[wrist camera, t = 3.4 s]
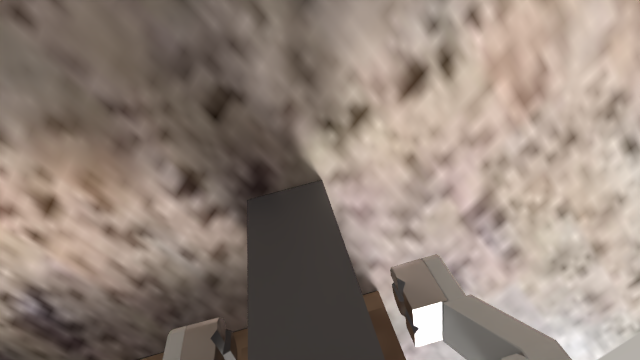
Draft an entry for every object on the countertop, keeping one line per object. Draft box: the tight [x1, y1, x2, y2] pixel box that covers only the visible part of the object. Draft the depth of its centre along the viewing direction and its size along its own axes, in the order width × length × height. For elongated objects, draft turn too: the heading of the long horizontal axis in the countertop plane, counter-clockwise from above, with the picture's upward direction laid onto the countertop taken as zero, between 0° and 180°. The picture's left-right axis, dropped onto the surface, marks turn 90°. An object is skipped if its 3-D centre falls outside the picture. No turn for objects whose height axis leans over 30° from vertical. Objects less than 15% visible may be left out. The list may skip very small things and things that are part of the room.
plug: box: [247, 180, 385, 360], centre depth 10 cm, size 3×3×9 cm
